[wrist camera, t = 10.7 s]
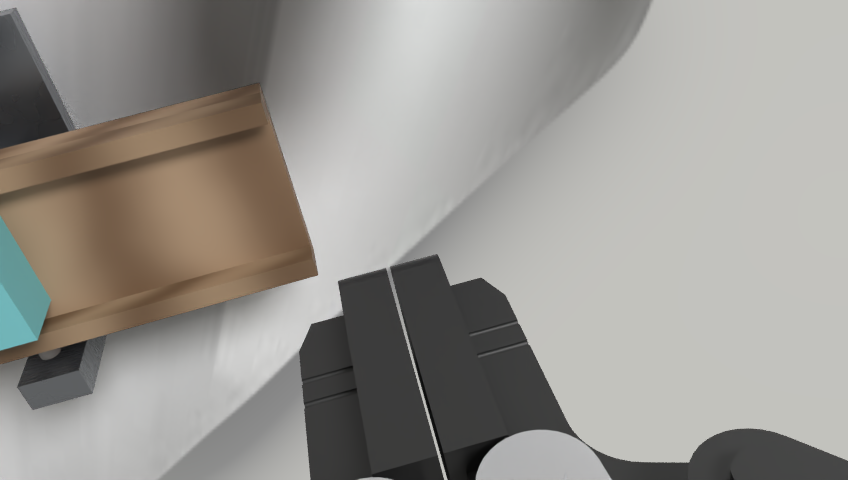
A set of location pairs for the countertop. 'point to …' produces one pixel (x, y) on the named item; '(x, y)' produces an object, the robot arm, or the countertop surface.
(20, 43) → the pivot stand
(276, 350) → the countertop surface
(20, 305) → the teal block
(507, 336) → the robot arm
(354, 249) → the countertop surface
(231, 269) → the beam
